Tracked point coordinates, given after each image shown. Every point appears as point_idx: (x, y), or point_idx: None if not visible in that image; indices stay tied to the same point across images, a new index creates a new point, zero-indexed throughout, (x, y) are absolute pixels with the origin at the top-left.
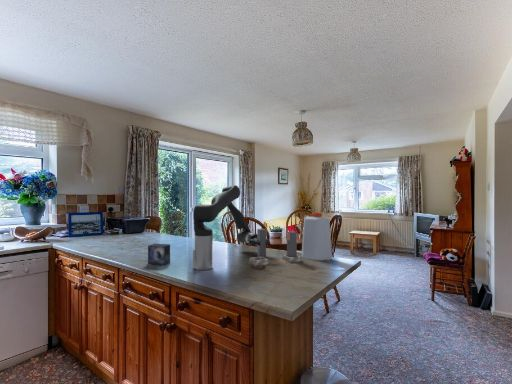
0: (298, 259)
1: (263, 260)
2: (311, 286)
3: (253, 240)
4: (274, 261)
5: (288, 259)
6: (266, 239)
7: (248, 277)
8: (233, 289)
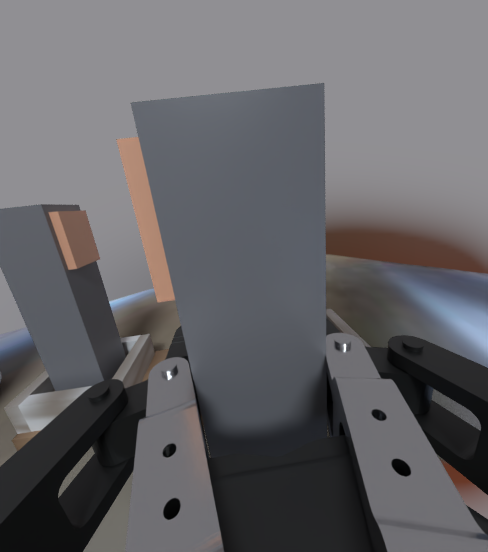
0: None
1: None
2: None
3: (402, 339)
4: None
5: (150, 344)
6: (44, 462)
7: (343, 290)
8: (362, 264)
